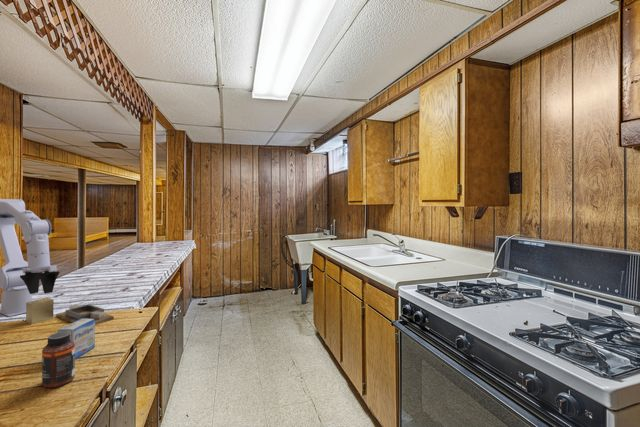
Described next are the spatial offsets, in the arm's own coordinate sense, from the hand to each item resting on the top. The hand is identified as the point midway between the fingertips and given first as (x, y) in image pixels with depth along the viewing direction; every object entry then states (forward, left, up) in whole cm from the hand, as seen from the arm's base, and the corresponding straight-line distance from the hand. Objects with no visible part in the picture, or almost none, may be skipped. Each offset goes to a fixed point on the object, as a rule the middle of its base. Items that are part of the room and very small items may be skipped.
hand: (41, 293), depth 106 cm
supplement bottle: (+46, -15, -10) cm, 50 cm away
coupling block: (-1, 0, -10) cm, 10 cm away
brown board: (+9, +9, -10) cm, 16 cm away
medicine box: (+35, -6, -10) cm, 37 cm away
